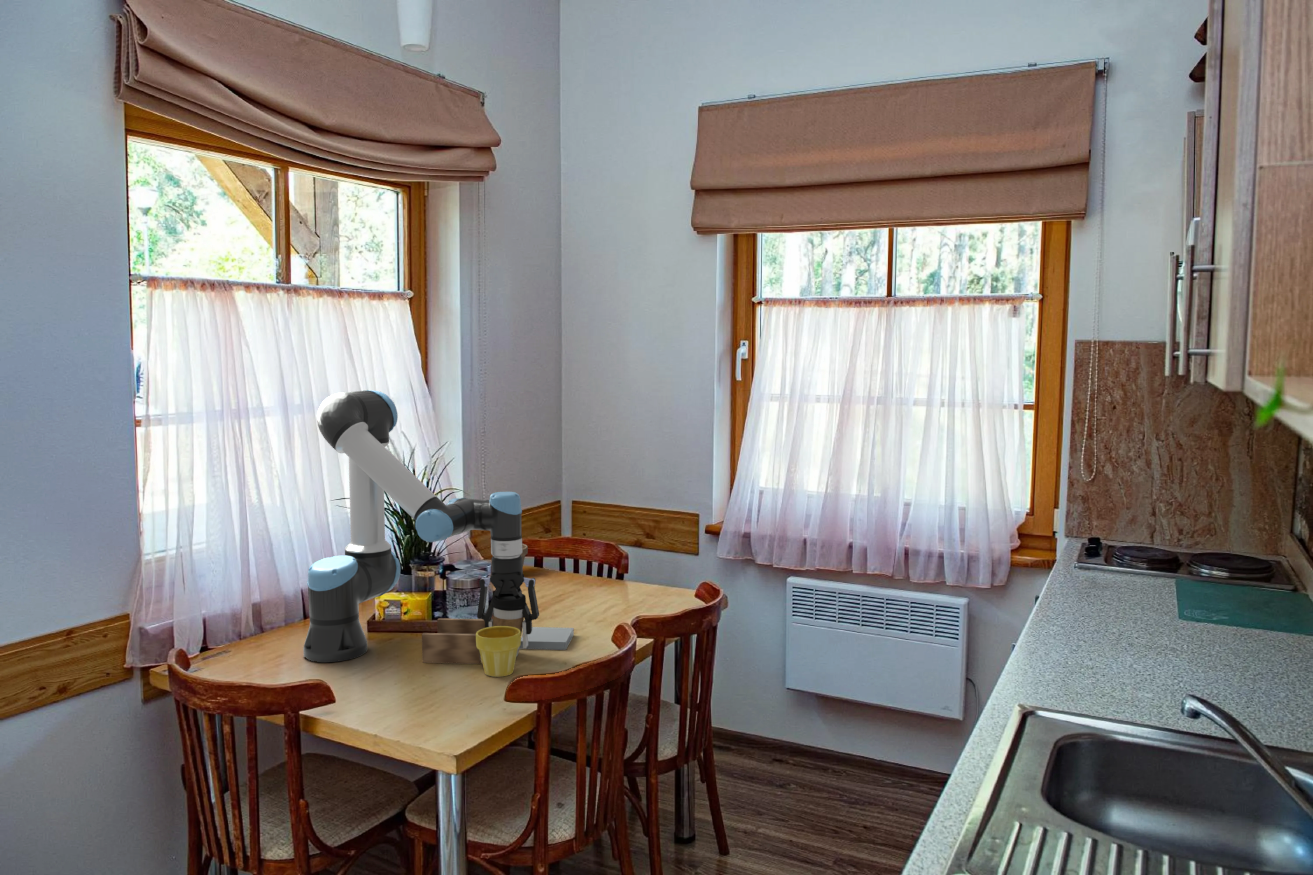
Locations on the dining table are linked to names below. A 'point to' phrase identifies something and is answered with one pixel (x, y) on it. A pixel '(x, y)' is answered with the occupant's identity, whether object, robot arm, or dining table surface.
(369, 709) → the dining table surface
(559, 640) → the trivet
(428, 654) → the rack
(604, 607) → the dining table surface
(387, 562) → the robot arm
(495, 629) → the plant pot
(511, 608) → the coffee cup
